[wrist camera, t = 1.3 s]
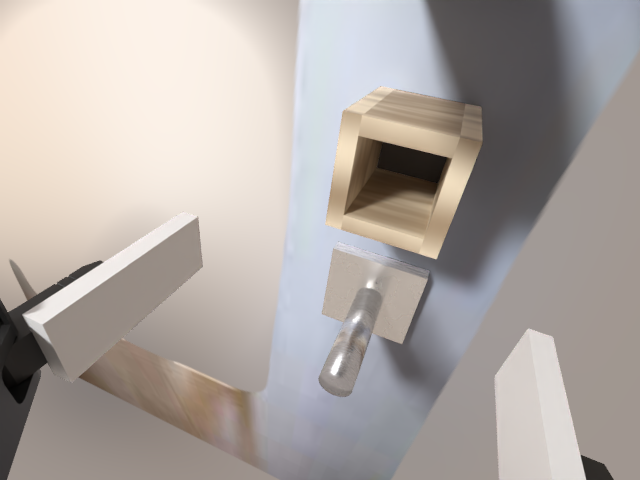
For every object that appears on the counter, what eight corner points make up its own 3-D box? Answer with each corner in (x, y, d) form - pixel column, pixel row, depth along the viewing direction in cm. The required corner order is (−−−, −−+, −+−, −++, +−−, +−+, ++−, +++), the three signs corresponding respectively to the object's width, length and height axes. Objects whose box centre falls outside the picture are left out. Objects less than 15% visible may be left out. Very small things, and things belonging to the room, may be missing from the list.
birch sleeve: (380, 86, 28) (342, 111, 20) (481, 106, 26) (482, 142, 19) (362, 176, 33) (325, 224, 25) (447, 198, 31) (436, 259, 23)
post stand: (337, 241, 38) (285, 323, 28) (429, 270, 35) (409, 372, 25) (326, 306, 43) (278, 393, 33) (404, 335, 41) (379, 439, 31)
